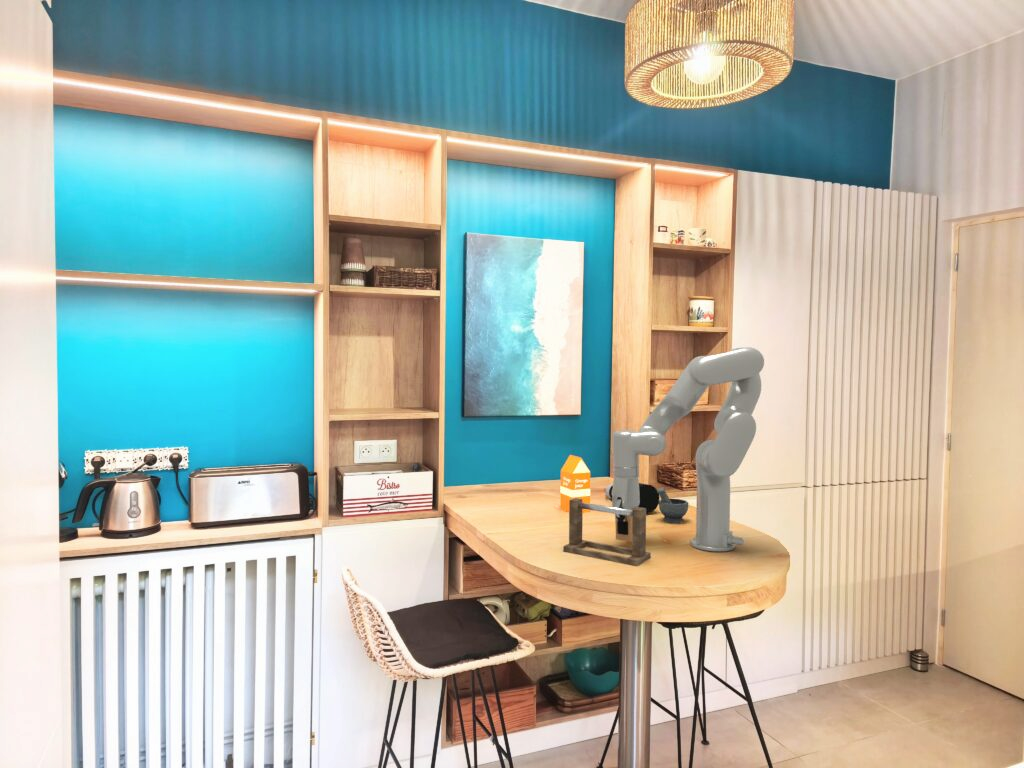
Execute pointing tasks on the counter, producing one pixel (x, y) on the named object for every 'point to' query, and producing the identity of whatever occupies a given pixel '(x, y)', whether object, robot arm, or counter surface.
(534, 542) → the counter surface
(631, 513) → the rail
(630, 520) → the u-slot holder
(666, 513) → the mortar and pestle
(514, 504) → the counter surface
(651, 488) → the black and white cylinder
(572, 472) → the orange juice
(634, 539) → the stand
